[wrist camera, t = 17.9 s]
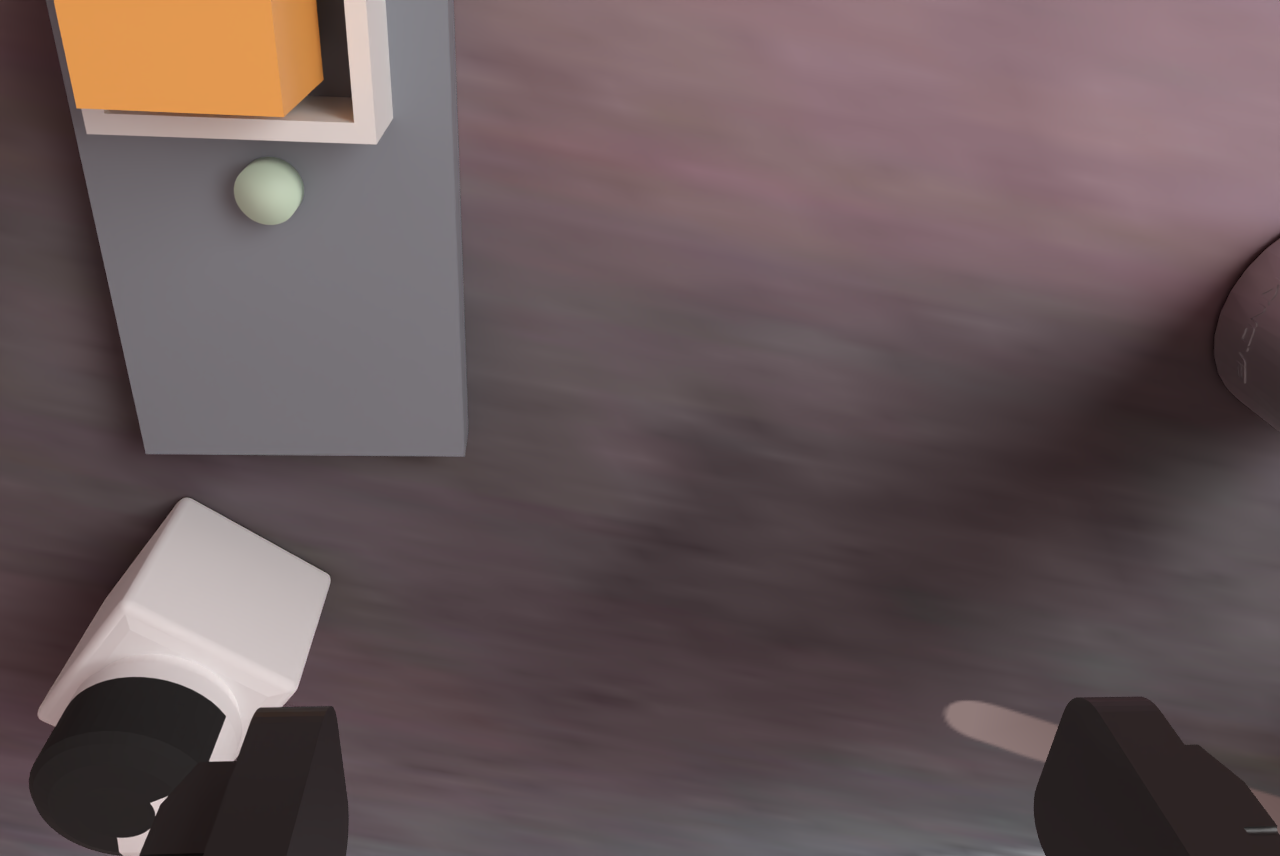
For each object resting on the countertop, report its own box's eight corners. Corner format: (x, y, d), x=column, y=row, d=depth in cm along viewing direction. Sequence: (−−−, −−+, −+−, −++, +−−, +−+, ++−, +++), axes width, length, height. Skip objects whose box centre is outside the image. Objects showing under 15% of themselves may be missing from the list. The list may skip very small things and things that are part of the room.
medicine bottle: (104, 598, 44) (-37, 830, 33) (185, 490, 41) (60, 703, 31) (251, 671, 46) (163, 907, 36) (335, 573, 44) (267, 795, 33)
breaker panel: (443, -285, 29) (422, -314, 24) (468, 431, 41) (457, 506, 36) (9, -318, 28) (-104, -355, 23) (163, 428, 40) (110, 505, 35)
